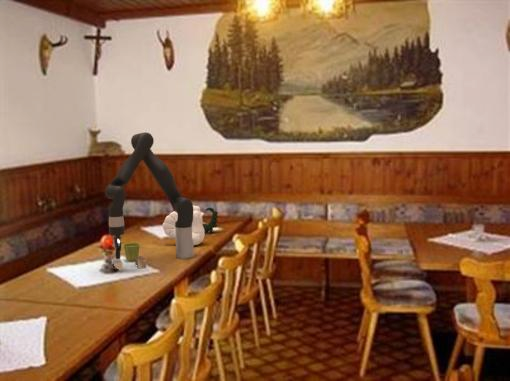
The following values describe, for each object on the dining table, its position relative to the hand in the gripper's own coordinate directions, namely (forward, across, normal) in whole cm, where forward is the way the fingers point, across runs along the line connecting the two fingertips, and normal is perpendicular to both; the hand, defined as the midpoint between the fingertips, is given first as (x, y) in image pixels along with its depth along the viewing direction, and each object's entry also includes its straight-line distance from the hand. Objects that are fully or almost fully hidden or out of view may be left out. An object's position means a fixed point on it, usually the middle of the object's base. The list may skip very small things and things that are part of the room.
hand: (118, 258), depth 279 cm
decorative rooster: (+6, +44, -46) cm, 64 cm away
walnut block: (+4, -2, -12) cm, 13 cm away
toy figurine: (+6, +77, -65) cm, 101 cm away
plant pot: (+6, +18, -10) cm, 22 cm away
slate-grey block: (+4, -2, 0) cm, 4 cm away
